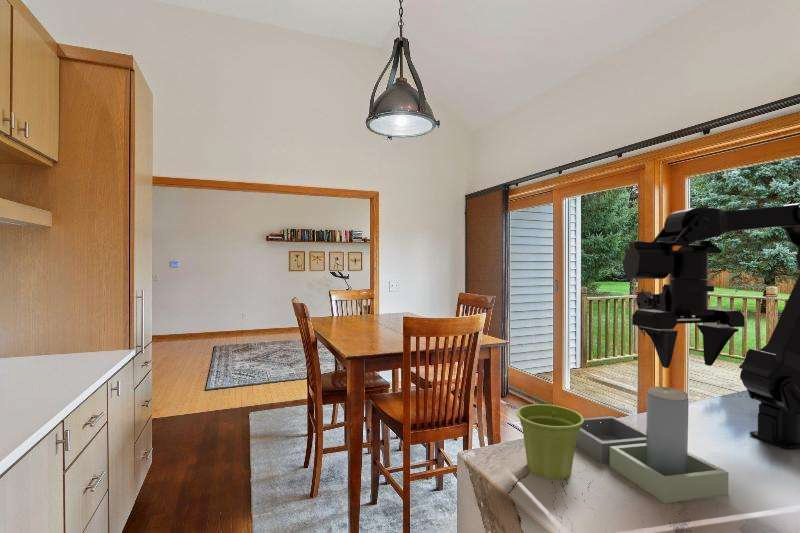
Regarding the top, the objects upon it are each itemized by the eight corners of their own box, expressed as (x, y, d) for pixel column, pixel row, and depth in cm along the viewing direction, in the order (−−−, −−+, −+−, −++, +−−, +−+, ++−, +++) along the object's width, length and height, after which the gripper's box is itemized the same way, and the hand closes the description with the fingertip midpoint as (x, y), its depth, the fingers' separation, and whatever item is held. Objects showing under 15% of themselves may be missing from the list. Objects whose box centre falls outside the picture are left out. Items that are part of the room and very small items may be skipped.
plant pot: (590, 492, 58) (590, 428, 58) (518, 484, 59) (519, 423, 59) (575, 461, 67) (576, 406, 67) (514, 455, 69) (514, 402, 69)
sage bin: (665, 463, 66) (665, 441, 66) (728, 498, 56) (728, 472, 56) (609, 469, 64) (609, 446, 64) (664, 507, 54) (664, 479, 54)
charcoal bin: (612, 435, 77) (612, 416, 77) (657, 460, 67) (657, 438, 67) (563, 439, 75) (563, 420, 75) (601, 466, 65) (601, 443, 65)
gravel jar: (657, 467, 64) (659, 384, 64) (694, 482, 59) (695, 393, 59) (638, 475, 61) (640, 388, 61) (674, 491, 57) (676, 398, 57)
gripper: (691, 277, 85) (690, 354, 85) (611, 277, 81) (610, 358, 81) (747, 279, 74) (746, 368, 74) (657, 280, 70) (656, 373, 70)
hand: (687, 366), depth 75 cm, fingers open, 9 cm apart
